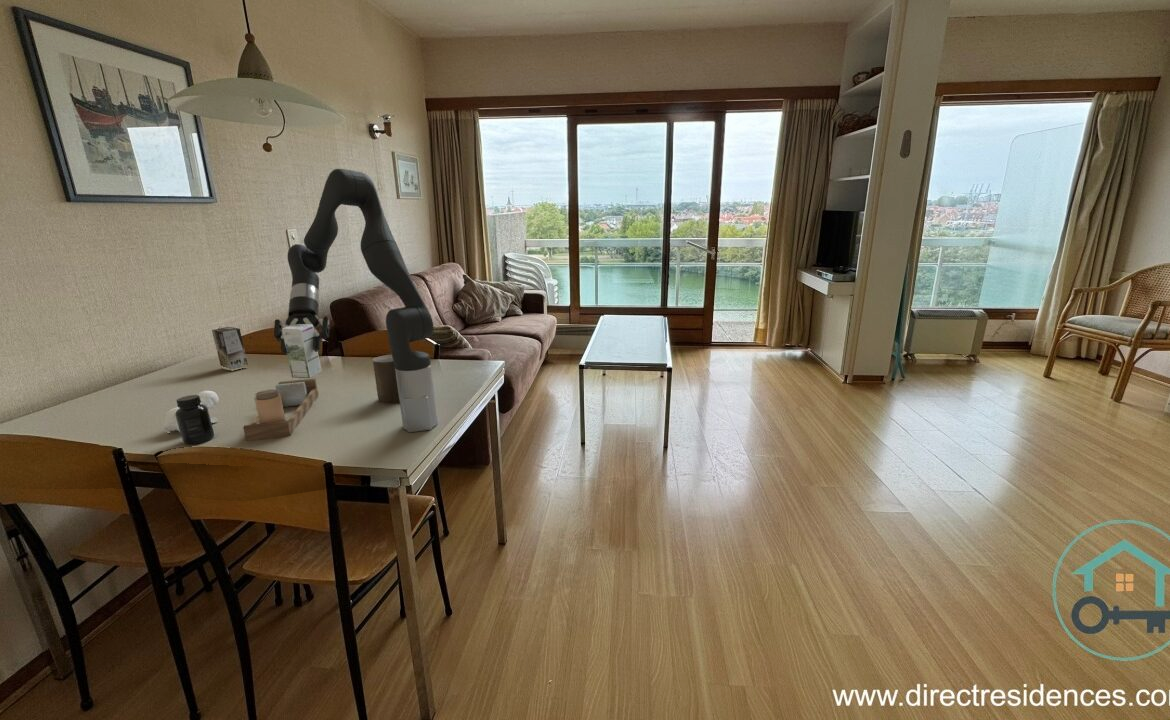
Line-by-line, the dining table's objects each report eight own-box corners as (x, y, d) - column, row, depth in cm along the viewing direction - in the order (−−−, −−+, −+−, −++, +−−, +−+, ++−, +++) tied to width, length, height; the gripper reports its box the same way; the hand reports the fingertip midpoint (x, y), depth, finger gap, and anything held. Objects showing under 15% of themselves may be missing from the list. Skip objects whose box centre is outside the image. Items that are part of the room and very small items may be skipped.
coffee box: (249, 367, 196) (240, 328, 192) (231, 372, 191) (221, 331, 187) (238, 364, 201) (229, 326, 196) (220, 368, 196) (211, 329, 191)
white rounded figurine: (195, 443, 137) (234, 406, 148) (177, 422, 131) (219, 385, 143) (170, 441, 138) (210, 405, 150) (151, 420, 133) (194, 384, 145)
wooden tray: (290, 435, 133) (286, 414, 131) (246, 440, 130) (241, 419, 129) (318, 395, 163) (315, 378, 161) (283, 399, 160) (279, 381, 159)
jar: (283, 433, 134) (275, 395, 131) (258, 436, 133) (250, 397, 130) (289, 425, 140) (282, 387, 137) (265, 427, 138) (257, 390, 135)
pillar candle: (405, 403, 154) (399, 357, 150) (373, 404, 154) (367, 358, 150) (414, 393, 163) (408, 349, 159) (384, 394, 163) (378, 350, 159)
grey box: (307, 404, 155) (303, 383, 153) (279, 407, 153) (275, 385, 151) (312, 397, 161) (308, 376, 159) (285, 399, 159) (281, 379, 157)
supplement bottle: (220, 433, 135) (210, 392, 132) (203, 445, 129) (191, 402, 125) (195, 434, 135) (184, 393, 132) (176, 446, 128) (164, 403, 125)
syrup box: (322, 372, 143) (313, 323, 139) (309, 378, 138) (300, 328, 133) (304, 371, 144) (295, 323, 140) (290, 378, 138) (280, 328, 134)
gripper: (272, 296, 139) (266, 346, 132) (327, 293, 143) (325, 342, 136) (281, 311, 146) (276, 360, 139) (334, 308, 149) (332, 355, 142)
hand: (300, 351), depth 137 cm, fingers closed on syrup box, 7 cm apart
